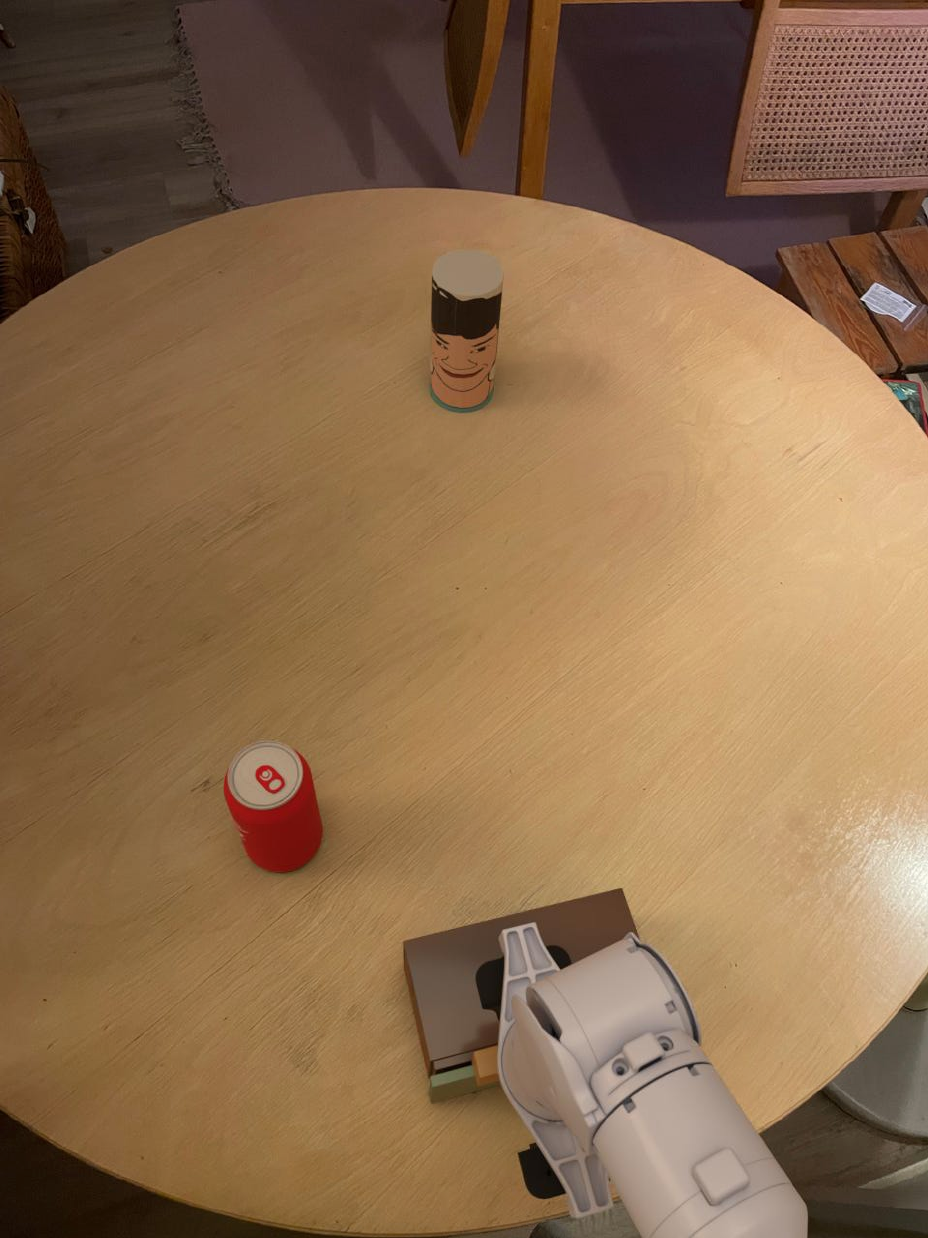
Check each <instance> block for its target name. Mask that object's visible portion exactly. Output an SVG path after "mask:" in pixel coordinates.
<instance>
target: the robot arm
mask: <svg viewBox="0 0 928 1238" xmlns="http://www.w3.org/2000/svg"><path fill="white" fill-rule="evenodd" d="M499 942H500V946H501V950H502V952H503V953H504V957H501V958H499V959H495V960H491V961H487V962H485V963H484V964H482V965H481V966H480V967H479V969H478V970H477V972H476V977H475V979H476V985H477V989H478V993H479V997H480V1001H481V1005H482V1008H483V1009H485V1010H492V1011H495V1012H496V1014H497V1018H498V1020H499V1021H500V1026H499V1038H498V1050H497V1070H498V1076H499V1080H500V1083H501V1085H500V1086H501V1088H502V1090H503V1092H504V1094H505V1096H506V1098H507V1099H508V1102H510V1104H511V1106H512V1108H513V1109H514V1110H515V1112H516V1114H517V1116H518V1117H519V1118H520V1120H521V1121H522V1123H523V1125H524V1126H525V1128H526V1130H527V1131H528V1133H529V1134H530V1136H531V1137H532V1139H533V1141H534V1142H531V1143H529V1144H528V1146H529V1148H528V1149H525V1150H521V1151H518V1152H517V1156H518V1160H519V1165H520V1169H521V1173H522V1177H523V1182H524V1185H525V1188H526V1190H527V1192H528V1193H529V1194H530V1196H532V1197H534V1198H536V1199H539V1200H549V1199H553V1198H556V1197H557V1198H558V1197H560V1196H563V1195H566V1197H565V1199H566V1206H567V1209H568V1212H569V1217H570V1218H572V1219H578V1220H579V1219H583V1218H586V1217H589V1216H593V1215H595V1214H596V1215H597V1214H600V1213H602V1212H606V1211H609V1210H613V1209H614V1208H615V1204H614V1200H613V1195H612V1190H611V1185H610V1182H611V1183H612V1185H613V1187H614V1190H615V1191H616V1193H617V1194H618V1197H619V1198H620V1201H621V1202H622V1204H623V1206H624V1207H625V1209H626V1211H627V1212H628V1215H629V1216H630V1218H631V1221H632V1222H633V1224H634V1226H635V1228H636V1229H637V1231H638V1233H639V1235H640V1237H641V1238H808V1229H809V1228H808V1227H809V1226H808V1225H809V1224H808V1223H809V1214H808V1207H807V1204H806V1202H805V1201H804V1200H803V1198H802V1197H801V1195H800V1194H799V1192H798V1191H797V1189H796V1188H795V1187H794V1185H793V1183H792V1181H791V1180H790V1179H789V1177H788V1176H787V1174H786V1173H785V1171H784V1169H783V1168H782V1167H781V1165H780V1164H779V1162H778V1161H777V1159H776V1158H775V1156H774V1154H773V1153H772V1151H771V1150H770V1148H768V1145H767V1144H766V1143H765V1141H764V1140H763V1138H762V1136H761V1135H760V1134H759V1132H758V1130H757V1129H756V1128H755V1125H753V1123H752V1121H750V1119H749V1117H748V1115H747V1114H746V1113H745V1111H744V1110H743V1108H742V1107H741V1105H740V1104H739V1102H738V1101H737V1099H736V1098H735V1096H734V1094H733V1093H732V1092H731V1090H730V1089H729V1087H728V1086H727V1084H726V1083H725V1081H724V1079H723V1078H722V1076H721V1075H720V1074H719V1072H718V1071H717V1068H715V1066H714V1064H713V1063H712V1061H711V1060H710V1058H709V1057H708V1056H707V1054H706V1052H705V1051H704V1049H703V1048H702V1047H701V1046H702V1040H703V1039H702V1030H701V1025H700V1022H699V1018H698V1015H697V1012H696V1009H695V1007H694V1004H693V1002H692V999H691V998H690V995H689V993H688V991H687V990H686V988H685V987H684V985H683V982H682V981H681V978H680V977H679V975H678V973H677V972H676V971H675V969H674V968H673V966H672V964H670V961H668V960H667V958H666V956H664V955H663V953H662V952H660V950H659V949H657V948H656V947H655V946H654V945H652V944H650V943H648V942H643V941H641V939H640V940H639V939H638V938H637V937H636V935H635V934H634V933H633V932H629V933H628V934H627V935H626V936H625V937H624V938H623V940H620V941H618V942H616V943H614V944H612V945H610V946H608V947H606V948H604V949H602V950H600V951H598V952H596V953H594V954H592V955H590V956H588V957H586V958H584V959H582V960H580V961H578V962H576V963H574V964H572V963H571V960H570V957H569V955H568V953H567V952H566V951H565V950H564V949H563V948H562V947H559V946H556V945H549V946H545V945H544V943H543V941H542V939H541V937H540V934H539V931H538V928H537V925H536V923H535V922H533V923H529V924H525V925H521V926H517V927H513V928H508V929H504V930H502V932H501V934H500V936H499Z"/></svg>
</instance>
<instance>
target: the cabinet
mask: <svg viewBox="0 0 928 1238" xmlns="http://www.w3.org/2000/svg"><path fill="white" fill-rule="evenodd" d="M632 915H633V914H632V912H631V909H630V907H629V904H628V900H627V898H626V895H625V892H624V890H623V887H619V888H614V889H611V890H606V891H602V892H598V893H595V894H589V895H586V896H582V897H578V898H574V899H573V898H572V899H570V900H566V901H562V902H558V903H554V904H548V905H545V906H541V907H537V908H532V909H529V910H525V911H520V912H517V913H513V914H512V913H511V914H508V915H504V916H500V917H497V918H492V919H488V920H484V921H480V922H476V923H472V924H468V925H464V926H463V925H462V926H460V927H455V928H452V929H447V930H443V931H438V932H435V933H431V934H426V935H424V936H423V935H422V936H419V937H415V938H410V939H407V940H406V939H405V940H403V941H402V947H403V949H402V950H403V951H402V952H403V954H402V955H403V971H404V975H405V980H406V984H407V988H408V989H407V990H408V992H409V997H410V1001H411V1006H412V1011H413V1015H414V1021H415V1025H416V1030H417V1034H418V1038H419V1039H418V1040H419V1043H420V1047H421V1051H422V1052H421V1053H422V1056H423V1061H424V1065H425V1070H426V1074H427V1078H428V1080H430V1076H433V1075H437V1074H441V1073H444V1072H448V1071H452V1070H456V1069H459V1068H463V1067H467V1066H471V1065H472V1058H473V1054H474V1052H475V1051H478V1050H482V1049H486V1048H490V1047H494V1046H497V1045H498V1038H499V1026H500V1021H499V1020H498V1018H497V1014H496V1012H495V1011H492V1010H485V1009H483V1008H482V1005H481V1001H480V997H479V993H478V989H477V985H476V979H475V977H476V972H477V970H478V969H479V967H480V966H481V965H482V964H484V963H485V962H487V961H491V960H495V959H499V958H501V957H504V953H503V952H502V950H501V946H500V942H499V936H500V934H501V932H502V930H504V929H508V928H513V927H517V926H521V925H525V924H529V923H533V922H535V923H536V925H537V928H538V931H539V934H540V937H541V939H542V941H543V943H544V945H545V946H549V945H556V946H559V947H562V948H563V949H564V950H565V951H566V952H567V953H568V955H569V957H570V960H571V963H572V964H574V963H576V962H578V961H580V960H582V959H584V958H586V957H588V956H590V955H592V954H594V953H596V952H598V951H600V950H602V949H604V948H606V947H608V946H610V945H612V944H614V943H616V942H618V941H620V940H623V938H624V937H625V936H626V935H627V934H628V933H629V932H633V933H634V934H635V935H636V937H637V938H638V939H639V940H640V941H641V939H640V936H639V933H638V930H637V926H636V924H635V921H634V919H633V918H634V917H633V916H632Z"/></svg>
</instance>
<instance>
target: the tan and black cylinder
mask: <svg viewBox="0 0 928 1238" xmlns="http://www.w3.org/2000/svg"><path fill="white" fill-rule="evenodd" d="M504 276H505V273H504V268H503V266H502V264H501V263H500V262H499V261H498V259H496V258H495V257H494V256H492V255H491V254H490V253H487V252H484V251H481V250H477V249H470V248H464V249H456V250H451V251H449V252H446V253H444V254H443V255H441V256H439V257H438V258H437V260H436V261H434V262H433V265H432V269H431V301H430V302H431V307H430V355H429V357H430V358H429V360H430V361H429V393H430V397H431V398H432V399H433V401H434V402H435V403H436V404H437V405H439V407H441V408H443V409H445V410H448V411H449V412H454V413H455V412H456V413H471V412H475V411H477V410H478V411H479V410H480V409H482V408H484V407H485V406H486V405H488V404H489V402H490V401H491V400H492V398H493V393H494V389H495V388H494V387H495V377H496V376H495V375H496V365H497V353H498V344H499V332H500V321H501V310H502V300H503V288H504V278H505V277H504Z"/></svg>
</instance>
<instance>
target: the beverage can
mask: <svg viewBox="0 0 928 1238" xmlns="http://www.w3.org/2000/svg"><path fill="white" fill-rule="evenodd" d="M223 781H224V782H223V795H224V800H225V802H226V805H227V808H228V810H229V812H230V813H229V814H230V816H231V818H232V820H233V823H234V825H235V827H236V828H235V829H236V830H237V833H238V835H239V838H240V840H241V843H242V846H243V848H244V850H245V853H246V855H247V856H248V858H249V859H250V860H251V861H252V863H254V864H255V865H256V866H257V867H259V868H260V869H263V870H266V871H269V872H274V873H285V872H291V871H293V870H296V869H299V868H300V867H302V866H305V865H306V864H307V863H308V862H309V861H310V860H312V859H313V858H314V856H315V855H316V854H317V852H318V851H319V848H320V847H321V843H322V841H323V834H324V831H323V829H324V828H323V822H322V818H321V812H320V808H319V803H318V799H317V797H318V796H317V793H316V789H315V783H314V778H313V774H312V770H311V766H310V764H309V763H308V761H307V760H306V758H305V757H304V756H303V755H302V754H301V753H300V752H298V751H297V750H296V749H295V748H293V747H291V746H289V745H288V744H286V743H284V742H281V741H278V740H270V739H269V740H267V739H266V740H259V741H256V742H253V743H250V744H248V745H246V746H245V747H243V748H242V749H240V751H238V752H237V753H236V755H235V756H234V758H233V759H232V761H231V762H230V764H229V767H228V768H227V770H226V773H225V775H224V780H223Z"/></svg>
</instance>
